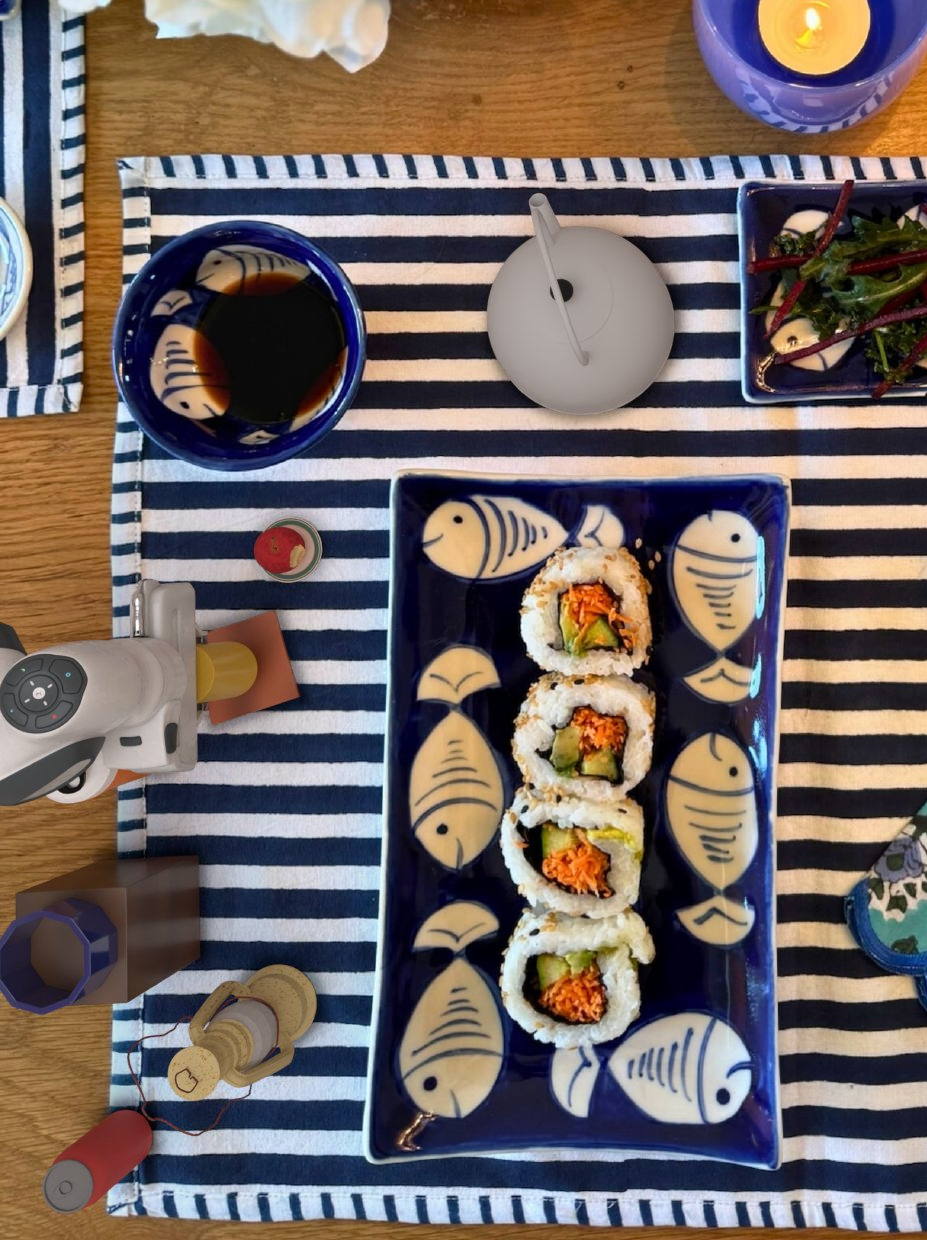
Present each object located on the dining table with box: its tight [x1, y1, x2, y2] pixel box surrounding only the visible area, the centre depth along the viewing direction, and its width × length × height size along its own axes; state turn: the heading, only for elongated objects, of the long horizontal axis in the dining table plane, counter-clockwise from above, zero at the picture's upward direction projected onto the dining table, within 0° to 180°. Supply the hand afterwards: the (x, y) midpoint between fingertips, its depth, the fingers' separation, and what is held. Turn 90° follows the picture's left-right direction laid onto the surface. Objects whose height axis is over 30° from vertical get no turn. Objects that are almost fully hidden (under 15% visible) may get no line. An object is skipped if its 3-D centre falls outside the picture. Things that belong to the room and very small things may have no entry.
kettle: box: [486, 192, 676, 416], centre depth 134 cm, size 25×23×23 cm
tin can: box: [196, 642, 257, 704], centre depth 132 cm, size 7×7×11 cm
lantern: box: [126, 964, 318, 1137], centre depth 123 cm, size 12×10×30 cm
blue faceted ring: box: [0, 898, 117, 1016], centre depth 121 cm, size 10×10×5 cm
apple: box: [253, 516, 323, 583], centre depth 140 cm, size 8×8×6 cm
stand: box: [14, 854, 201, 1010], centre depth 131 cm, size 12×12×16 cm
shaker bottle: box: [45, 749, 155, 804], centre depth 131 cm, size 9×9×20 cm
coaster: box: [208, 610, 301, 726], centre depth 142 cm, size 11×11×1 cm
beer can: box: [41, 1109, 153, 1215], centre depth 131 cm, size 7×7×12 cm
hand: (202, 673), depth 131 cm, fingers closed on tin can, 6 cm apart
